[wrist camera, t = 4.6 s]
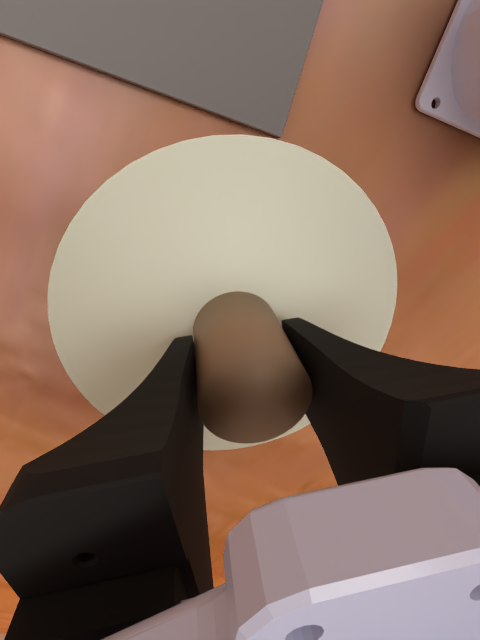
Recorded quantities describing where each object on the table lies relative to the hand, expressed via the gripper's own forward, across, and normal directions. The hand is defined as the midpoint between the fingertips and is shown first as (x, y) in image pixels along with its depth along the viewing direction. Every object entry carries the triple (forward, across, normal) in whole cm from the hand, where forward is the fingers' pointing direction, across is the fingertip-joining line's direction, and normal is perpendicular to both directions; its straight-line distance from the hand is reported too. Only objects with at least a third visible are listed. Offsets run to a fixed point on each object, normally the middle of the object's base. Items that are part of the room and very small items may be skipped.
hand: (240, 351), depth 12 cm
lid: (+2, 0, 0) cm, 2 cm away
